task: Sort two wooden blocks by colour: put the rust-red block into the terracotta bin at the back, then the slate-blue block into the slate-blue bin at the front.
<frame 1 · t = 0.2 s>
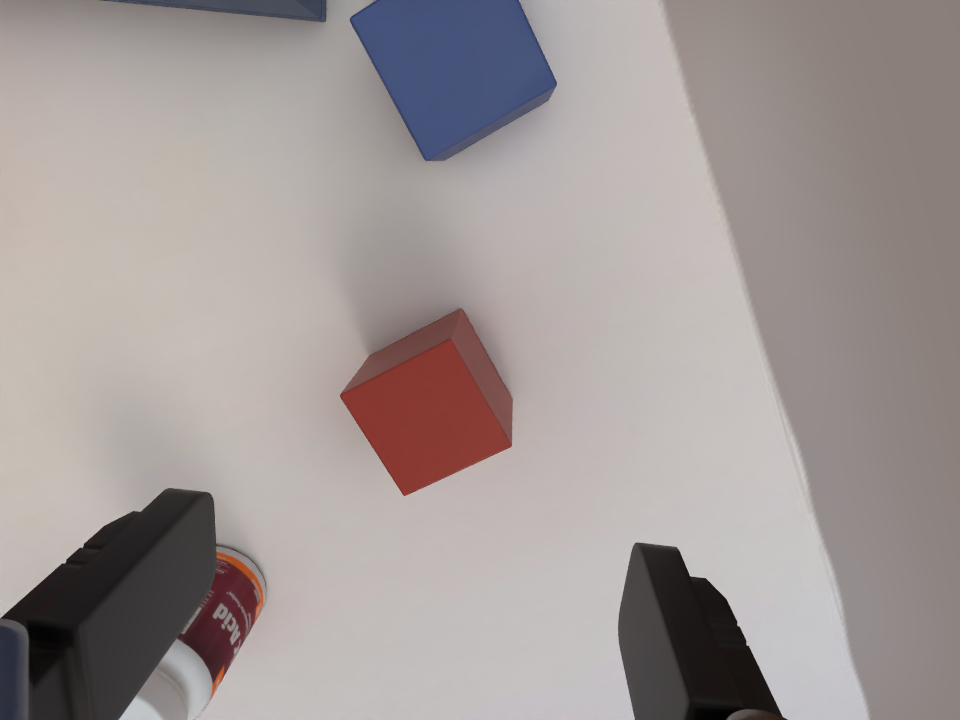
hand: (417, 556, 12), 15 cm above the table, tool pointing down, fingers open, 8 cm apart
pill bottle: (223, 580, 30), on the table
red block: (441, 378, 26), on the table
blue block: (465, 72, 23), on the table
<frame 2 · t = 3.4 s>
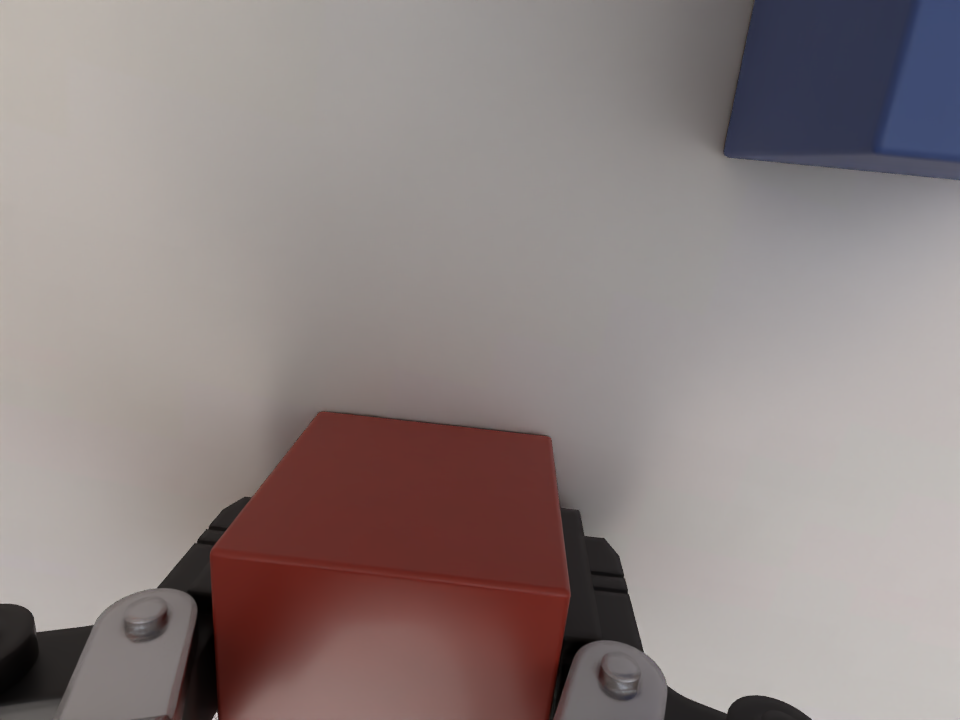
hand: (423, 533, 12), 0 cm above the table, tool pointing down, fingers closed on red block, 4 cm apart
red block: (427, 523, 13), on the table, touching gripper
blue block: (903, 14, 9), on the table
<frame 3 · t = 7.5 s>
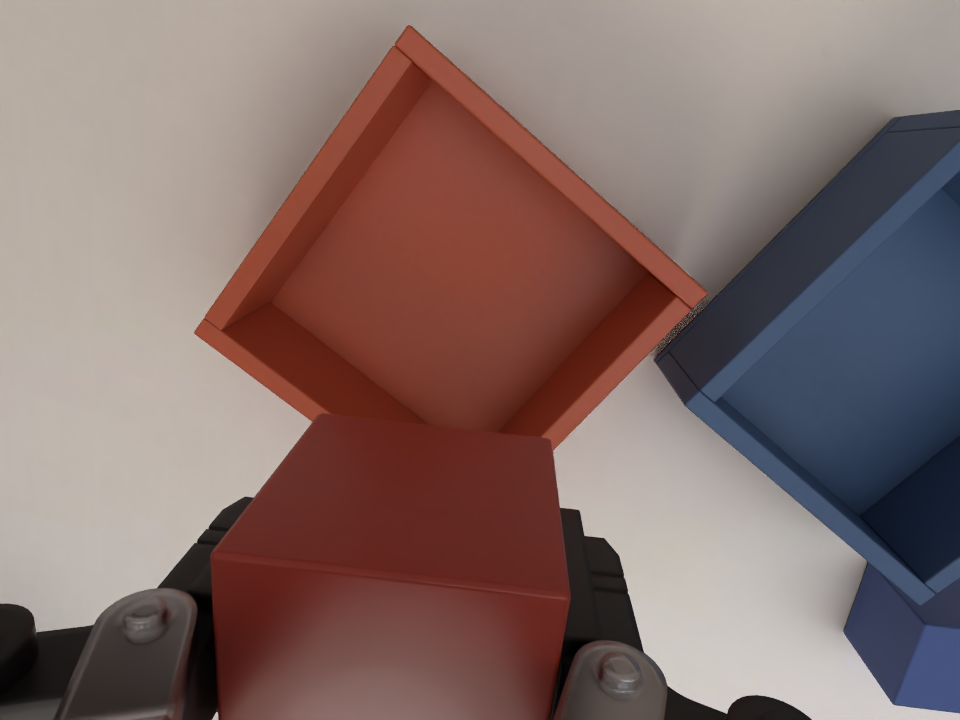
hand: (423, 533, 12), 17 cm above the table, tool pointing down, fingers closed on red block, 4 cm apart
slate bin: (870, 344, 28), on the table
terracotta bin: (456, 284, 28), on the table
red block: (427, 525, 13), point 17 cm above the table, touching gripper
blue block: (900, 602, 32), on the table
when the fingers open (1 cm above the table, at t = 11.6 s): red block stays where it is, resting on terracotta bin.
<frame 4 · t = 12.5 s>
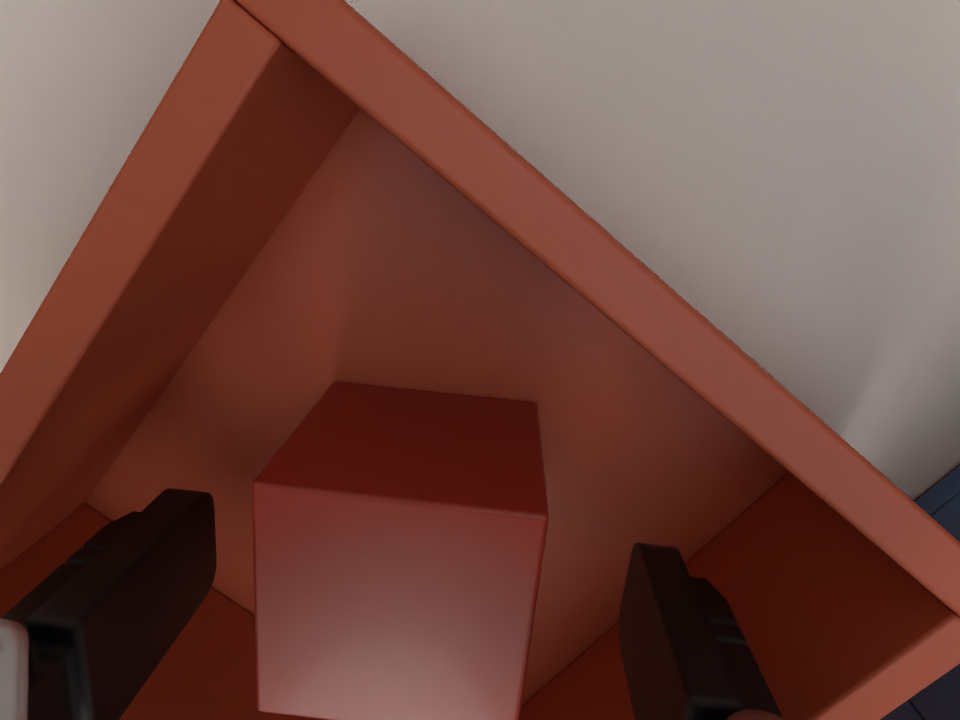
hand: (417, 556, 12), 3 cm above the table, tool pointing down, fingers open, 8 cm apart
terracotta bin: (431, 468, 15), on the table
red block: (428, 482, 14), point 1 cm above the table, touching terracotta bin
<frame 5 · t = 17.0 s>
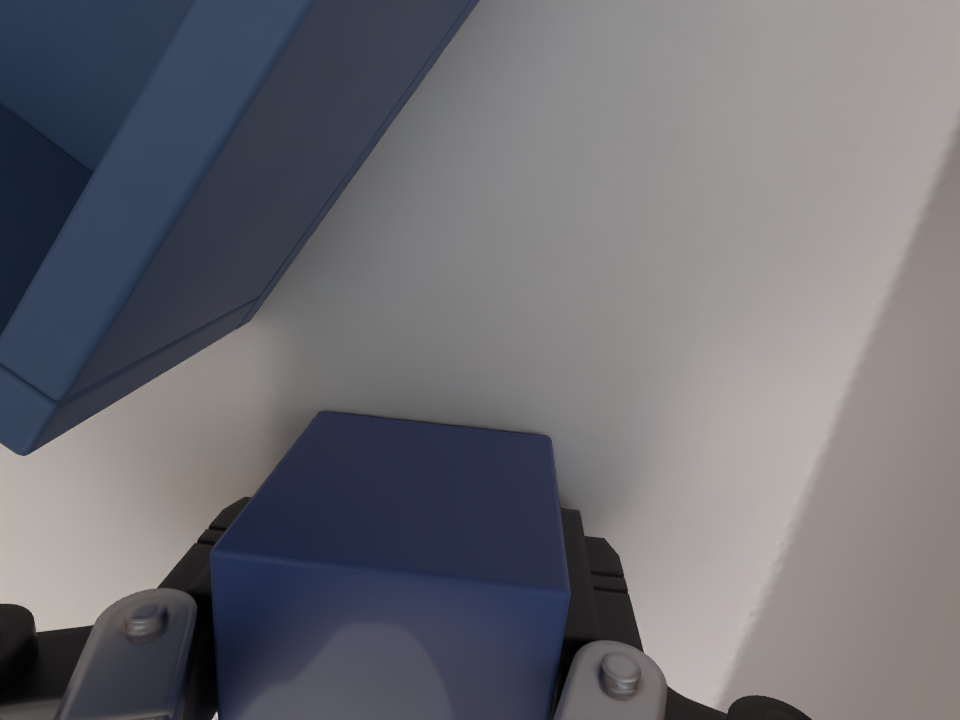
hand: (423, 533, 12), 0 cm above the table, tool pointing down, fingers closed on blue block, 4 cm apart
blue block: (427, 523, 13), on the table, touching gripper
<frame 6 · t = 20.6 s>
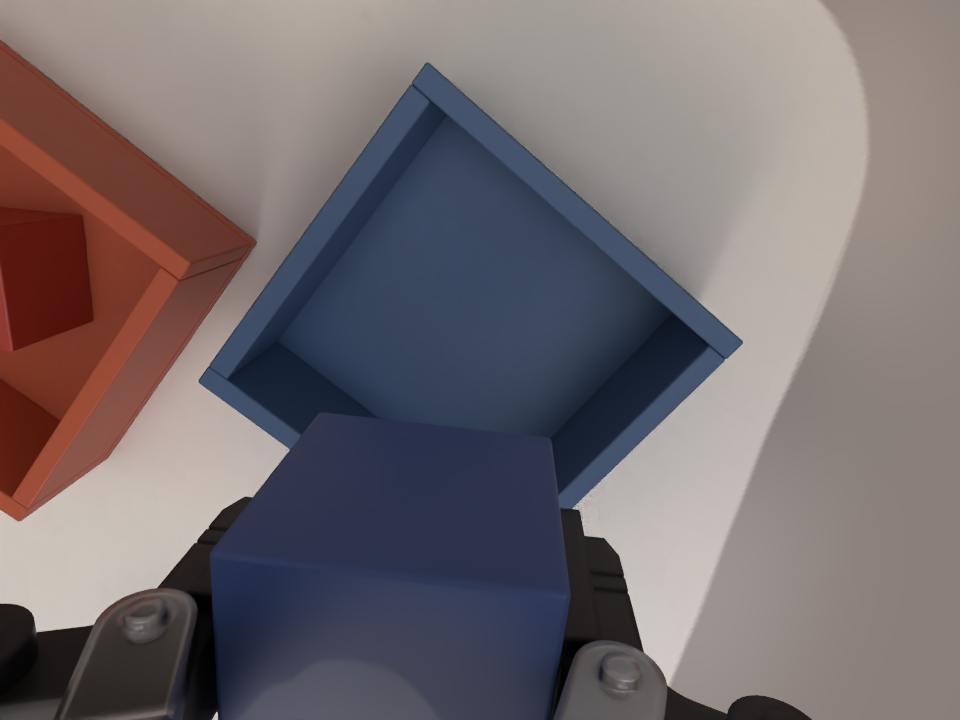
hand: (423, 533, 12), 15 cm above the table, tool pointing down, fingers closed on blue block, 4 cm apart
slate bin: (471, 322, 27), on the table
terracotta bin: (46, 261, 27), on the table
red block: (36, 264, 26), point 1 cm above the table, touching terracotta bin
blue block: (427, 524, 13), point 15 cm above the table, touching gripper
when the fingers open (1 cm above the table, at t = 24.3 s): blue block stays where it is, resting on slate bin.
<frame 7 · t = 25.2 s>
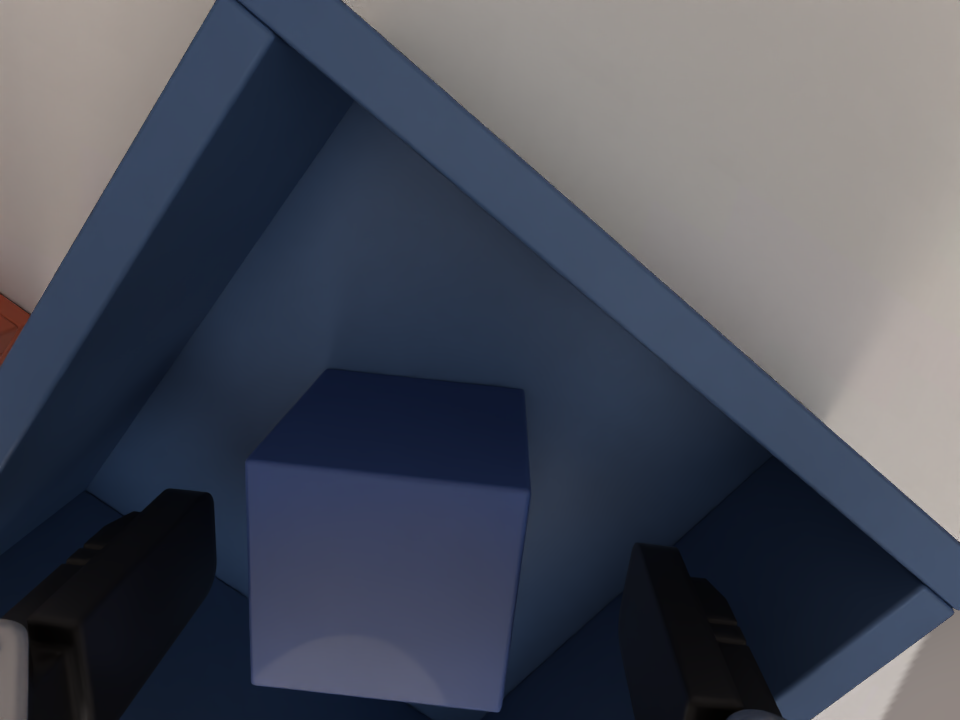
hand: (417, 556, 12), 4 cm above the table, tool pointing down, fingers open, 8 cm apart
slate bin: (424, 455, 15), on the table
blue block: (418, 467, 15), point 1 cm above the table, touching slate bin
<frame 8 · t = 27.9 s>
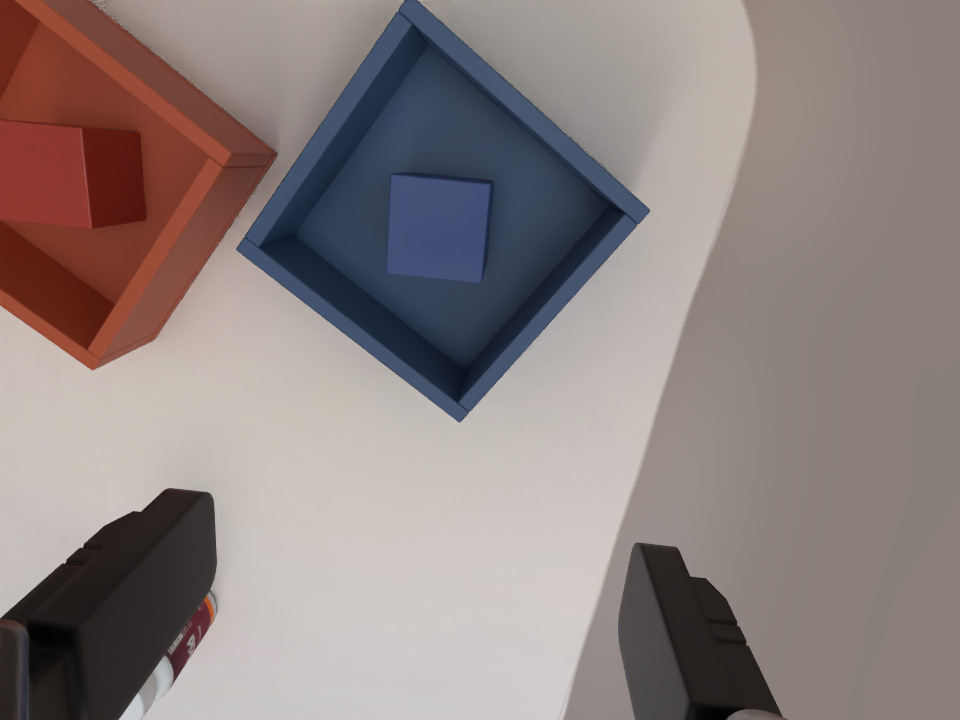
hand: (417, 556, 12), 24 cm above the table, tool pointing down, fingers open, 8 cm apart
slate bin: (449, 219, 33), on the table
terracotta bin: (108, 172, 34), on the table
pill bottle: (186, 600, 43), on the table
red block: (101, 173, 33), point 1 cm above the table, touching terracotta bin
blue block: (447, 220, 33), point 1 cm above the table, touching slate bin
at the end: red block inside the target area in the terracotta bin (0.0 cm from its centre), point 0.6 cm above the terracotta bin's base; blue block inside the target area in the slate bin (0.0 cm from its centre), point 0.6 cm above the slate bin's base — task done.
